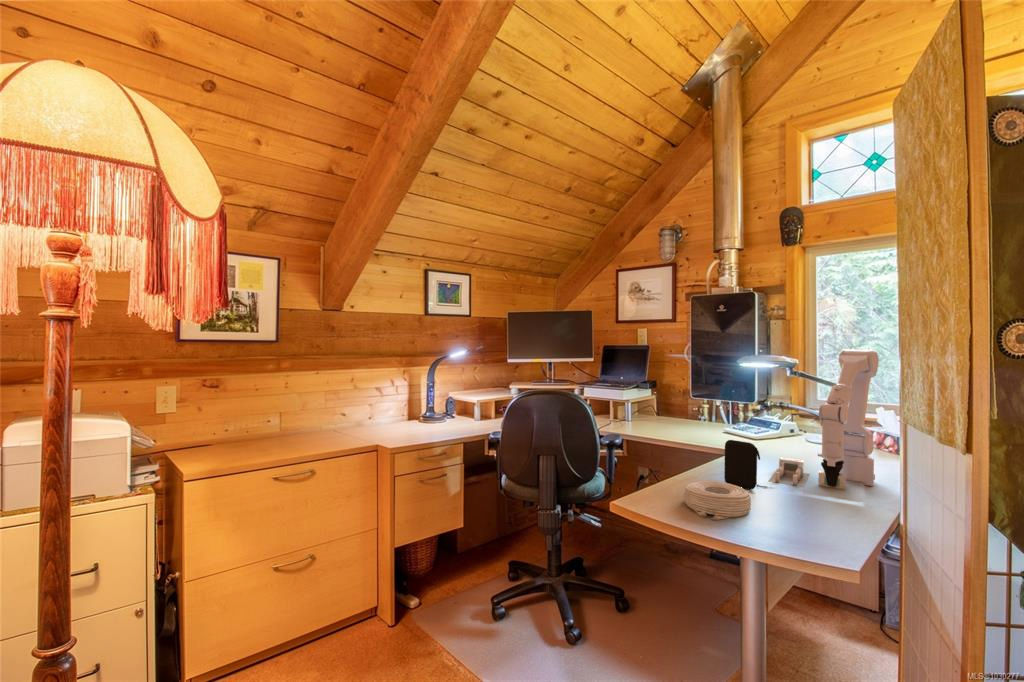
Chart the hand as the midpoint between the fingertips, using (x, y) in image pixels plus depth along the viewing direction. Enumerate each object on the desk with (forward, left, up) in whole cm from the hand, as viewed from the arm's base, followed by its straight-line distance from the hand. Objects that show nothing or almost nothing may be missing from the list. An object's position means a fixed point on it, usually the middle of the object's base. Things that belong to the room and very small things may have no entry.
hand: (832, 484), depth 152 cm
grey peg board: (+12, -2, -1) cm, 12 cm away
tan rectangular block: (+12, -7, 0) cm, 14 cm away
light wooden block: (0, 0, -1) cm, 1 cm away
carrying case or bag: (+23, +17, -2) cm, 29 cm away
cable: (+25, +41, -2) cm, 48 cm away
